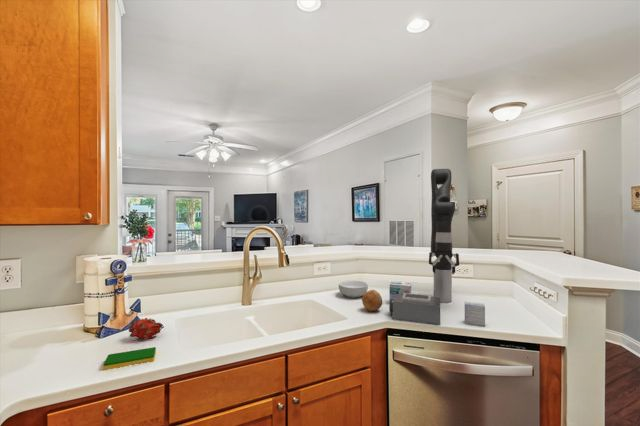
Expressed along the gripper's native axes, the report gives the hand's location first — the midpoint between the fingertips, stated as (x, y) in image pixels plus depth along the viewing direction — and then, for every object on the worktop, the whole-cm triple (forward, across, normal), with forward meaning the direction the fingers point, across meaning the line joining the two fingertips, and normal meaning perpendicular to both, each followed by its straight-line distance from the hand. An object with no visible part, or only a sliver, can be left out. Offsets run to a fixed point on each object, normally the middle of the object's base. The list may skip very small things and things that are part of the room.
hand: (443, 273), depth 154 cm
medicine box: (+18, -12, +18) cm, 28 cm away
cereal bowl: (+17, +48, -6) cm, 51 cm away
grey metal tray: (+18, +12, +18) cm, 28 cm away
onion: (+18, +33, +16) cm, 41 cm away
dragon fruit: (+20, +109, +78) cm, 136 cm away
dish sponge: (+21, +98, +93) cm, 137 cm away
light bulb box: (+18, +21, 0) cm, 27 cm away
